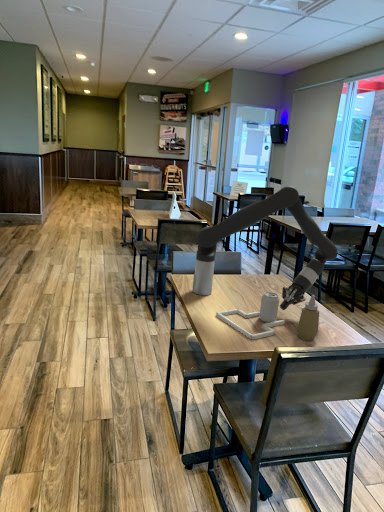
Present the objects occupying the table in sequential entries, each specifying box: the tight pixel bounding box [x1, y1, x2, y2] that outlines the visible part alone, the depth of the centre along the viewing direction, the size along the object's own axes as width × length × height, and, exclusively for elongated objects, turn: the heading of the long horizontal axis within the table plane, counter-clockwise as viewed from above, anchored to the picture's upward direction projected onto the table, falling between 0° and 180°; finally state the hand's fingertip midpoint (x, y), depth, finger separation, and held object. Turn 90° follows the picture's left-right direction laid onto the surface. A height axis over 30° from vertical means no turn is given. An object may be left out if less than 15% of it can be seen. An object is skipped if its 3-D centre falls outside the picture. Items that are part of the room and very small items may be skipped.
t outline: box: [215, 308, 285, 340], centre depth 164 cm, size 23×24×2 cm
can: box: [258, 291, 280, 323], centre depth 167 cm, size 8×8×12 cm
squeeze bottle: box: [296, 294, 320, 342], centre depth 151 cm, size 8×8×18 cm
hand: (281, 308), depth 171 cm, fingers closed
